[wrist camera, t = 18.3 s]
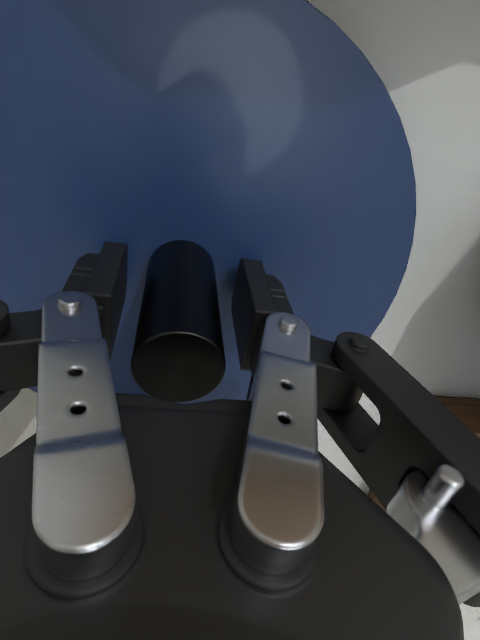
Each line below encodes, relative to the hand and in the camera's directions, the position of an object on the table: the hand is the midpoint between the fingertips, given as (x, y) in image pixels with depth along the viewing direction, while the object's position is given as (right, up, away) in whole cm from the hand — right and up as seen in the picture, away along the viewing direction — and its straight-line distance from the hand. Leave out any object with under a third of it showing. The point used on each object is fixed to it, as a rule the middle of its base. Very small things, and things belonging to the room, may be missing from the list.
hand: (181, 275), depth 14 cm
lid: (0, +1, +1) cm, 1 cm away
